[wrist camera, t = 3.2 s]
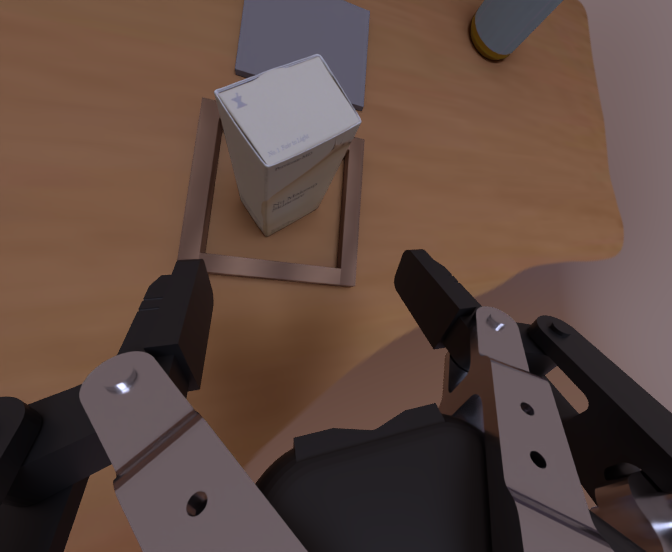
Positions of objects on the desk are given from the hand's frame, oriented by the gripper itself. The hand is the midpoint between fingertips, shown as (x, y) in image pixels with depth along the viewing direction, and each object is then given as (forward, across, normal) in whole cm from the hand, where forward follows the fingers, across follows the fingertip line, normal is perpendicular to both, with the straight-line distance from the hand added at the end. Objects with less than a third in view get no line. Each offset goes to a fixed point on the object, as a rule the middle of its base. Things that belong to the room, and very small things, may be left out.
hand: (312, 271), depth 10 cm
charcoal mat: (+28, -4, -9) cm, 29 cm away
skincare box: (+15, 0, +4) cm, 16 cm away
